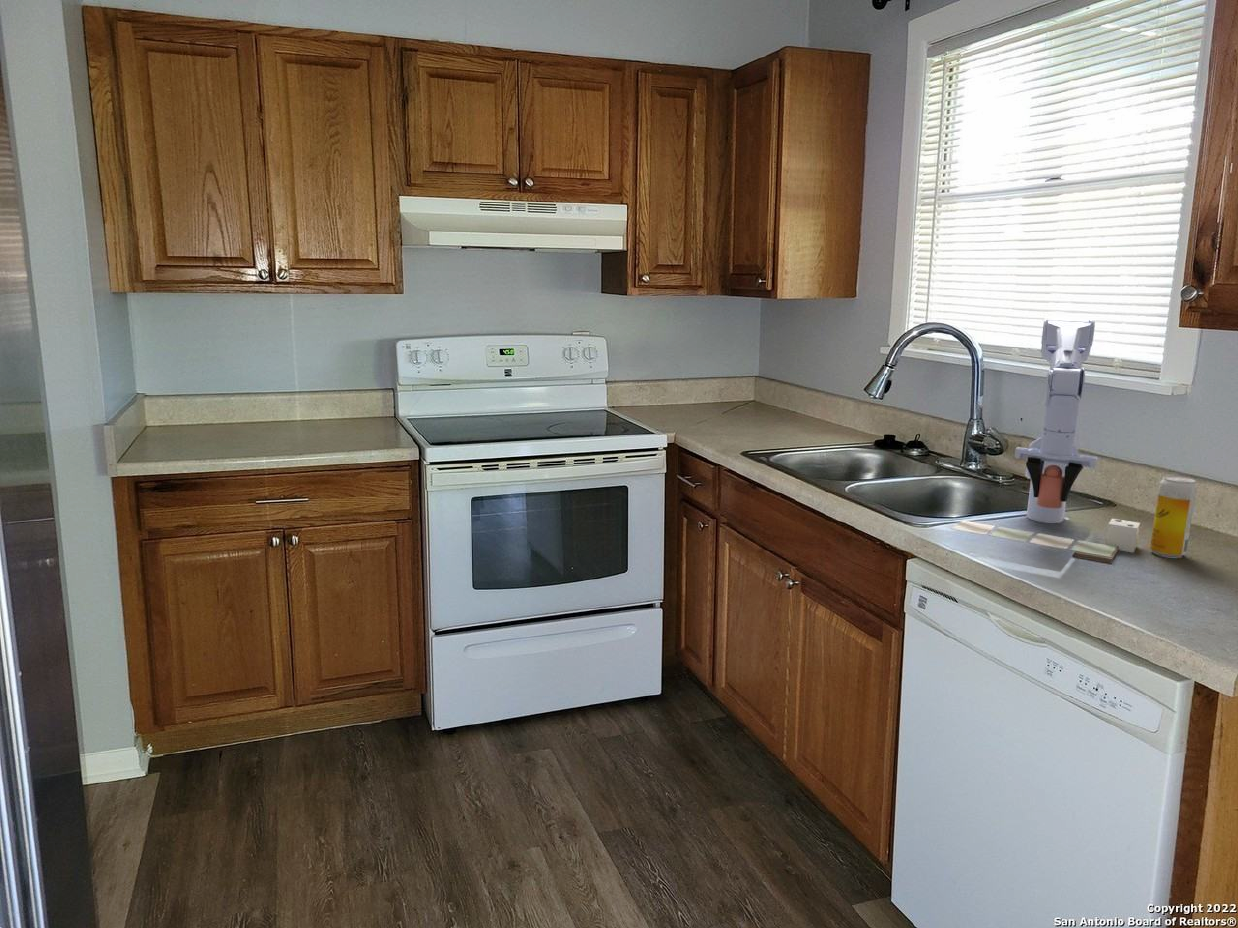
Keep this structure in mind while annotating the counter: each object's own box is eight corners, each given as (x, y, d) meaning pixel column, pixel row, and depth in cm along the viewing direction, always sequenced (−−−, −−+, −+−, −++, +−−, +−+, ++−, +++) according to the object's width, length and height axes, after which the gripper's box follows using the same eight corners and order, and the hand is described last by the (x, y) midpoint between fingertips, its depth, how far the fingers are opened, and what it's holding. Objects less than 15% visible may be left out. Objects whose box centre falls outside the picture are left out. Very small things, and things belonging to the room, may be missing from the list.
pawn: (1039, 501, 186) (1044, 461, 185) (1063, 505, 184) (1068, 464, 182) (1034, 505, 183) (1039, 464, 181) (1059, 509, 180) (1064, 468, 179)
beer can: (1152, 547, 185) (1164, 474, 182) (1187, 554, 182) (1200, 479, 178) (1146, 554, 181) (1158, 478, 178) (1182, 561, 177) (1194, 484, 174)
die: (1108, 542, 189) (1112, 517, 187) (1136, 547, 186) (1140, 522, 185) (1104, 547, 185) (1108, 523, 183) (1133, 552, 182) (1137, 527, 181)
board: (961, 523, 199) (961, 519, 199) (1118, 550, 182) (1119, 546, 182) (947, 533, 191) (948, 529, 191) (1110, 563, 174) (1111, 558, 174)
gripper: (1014, 428, 181) (1006, 496, 184) (1096, 437, 173) (1087, 508, 176) (1022, 424, 187) (1014, 489, 190) (1103, 433, 179) (1093, 501, 182)
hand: (1050, 498), depth 183 cm, fingers closed on pawn, 4 cm apart
